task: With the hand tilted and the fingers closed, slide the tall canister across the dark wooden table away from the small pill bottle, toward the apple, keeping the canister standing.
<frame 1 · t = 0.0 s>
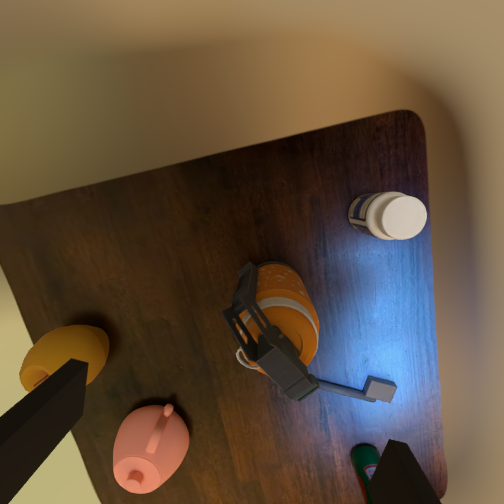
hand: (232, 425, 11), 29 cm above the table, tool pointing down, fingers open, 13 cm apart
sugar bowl: (162, 420, 46), on the table
axe: (346, 378, 42), on the table
soda can: (363, 452, 46), on the table
apple: (97, 335, 43), on the table
pill bottle: (366, 213, 37), on the table
canister: (269, 282, 40), on the table
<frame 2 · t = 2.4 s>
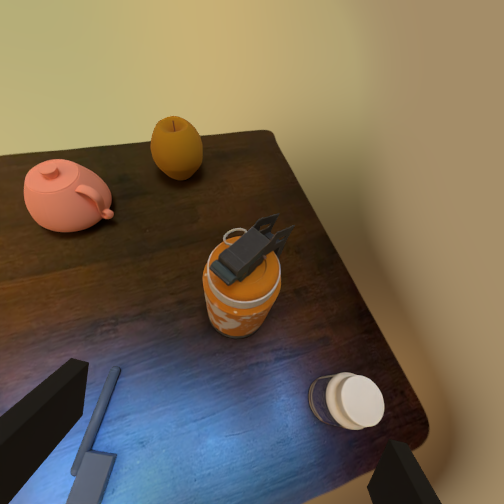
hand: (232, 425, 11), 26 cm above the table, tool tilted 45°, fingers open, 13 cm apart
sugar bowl: (84, 213, 46), on the table
axe: (115, 418, 31), on the table
apple: (182, 174, 53), on the table
pill bottle: (327, 399, 35), on the table
canister: (241, 305, 40), on the table
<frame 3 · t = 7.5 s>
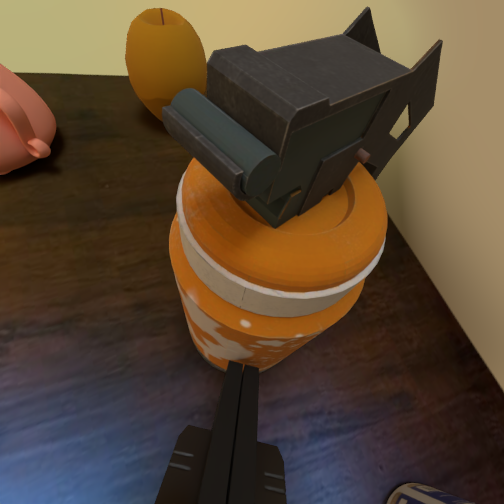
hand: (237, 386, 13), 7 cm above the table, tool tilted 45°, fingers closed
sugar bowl: (12, 153, 29), on the table
apple: (175, 118, 36), on the table
canister: (250, 313, 23), on the table, touching gripper
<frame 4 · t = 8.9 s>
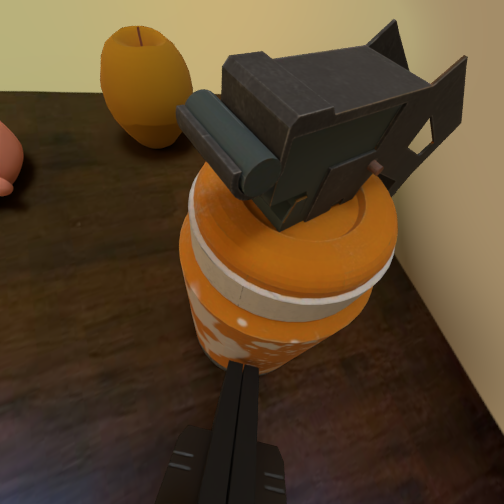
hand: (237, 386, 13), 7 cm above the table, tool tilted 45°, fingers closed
apple: (160, 141, 33), on the table
canister: (256, 315, 23), on the table, touching gripper
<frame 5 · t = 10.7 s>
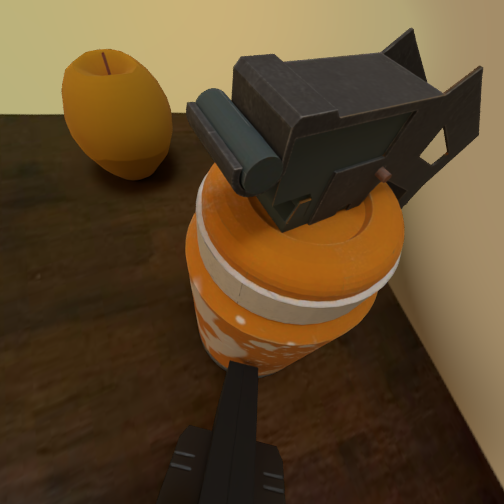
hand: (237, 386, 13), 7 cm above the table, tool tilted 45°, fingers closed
apple: (139, 170, 30), on the table
canister: (260, 318, 23), on the table, touching gripper
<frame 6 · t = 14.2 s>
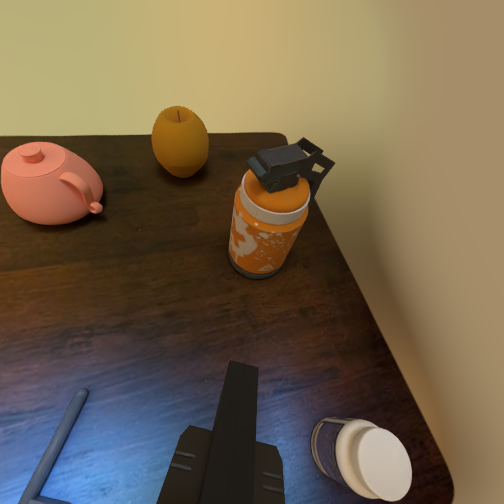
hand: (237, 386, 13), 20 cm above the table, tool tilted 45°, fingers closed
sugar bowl: (71, 205, 41), on the table
axe: (74, 455, 25), on the table
apple: (184, 172, 49), on the table
pill bottle: (333, 445, 29), on the table
canister: (260, 253, 41), on the table
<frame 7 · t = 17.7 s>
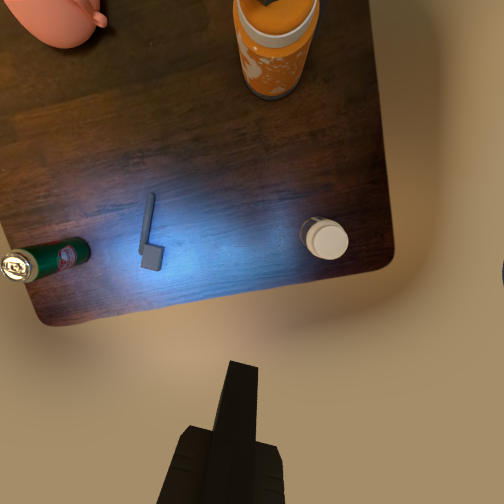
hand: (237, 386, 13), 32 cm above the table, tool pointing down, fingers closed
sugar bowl: (76, 14, 38), on the table
axe: (158, 227, 45), on the table
soda can: (78, 250, 46), on the table
pill bottle: (315, 232, 44), on the table
canister: (278, 66, 38), on the table
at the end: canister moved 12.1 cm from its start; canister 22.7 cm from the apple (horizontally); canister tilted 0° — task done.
